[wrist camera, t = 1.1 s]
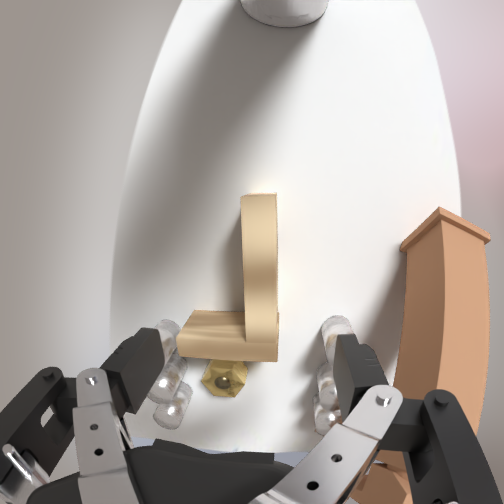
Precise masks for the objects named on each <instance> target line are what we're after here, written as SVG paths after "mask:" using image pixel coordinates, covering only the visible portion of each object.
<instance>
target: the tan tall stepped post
mask: <svg viewBox="0 0 504 504" xmlns="http://www.w3.org/2000/svg"><path fill="white" fill-rule="evenodd" d="M490 240H491V239H490V234H489V233H488V232H486V231H484V230H482V229H481V228H479V227H477V226H476V225H474V224H472V223H470V222H468V221H466V220H465V219H463V218H461V217H459V216H457V215H455V214H453V213H451V212H449V211H447V210H445V209H443V208H441V207H438V208H437V209H436V210H435V211H434V212H433V213H432V214H431V215H430V216H429V217H428V218H427V219H426V220H425V221H424V222H423V223H422V224H421V225H420V226H419V227H418V228H417V229H416V230H415V231H414V232H412V233H411V234H410V235H409V236H408V237H407V238H406V239H405V240H404V241H403V242H402V244H401V247H400V251H402V252H405V253H407V273H406V292H405V305H404V316H403V325H402V333H401V341H400V348H399V355H398V361H397V367H396V372H395V378H394V383H393V387H394V388H396V389H398V390H399V391H400V392H401V394H402V396H403V398H408V399H420V400H424V397H425V395H426V394H427V393H428V392H430V391H432V390H435V389H443V390H447V391H449V392H451V393H452V394H454V395H455V397H456V398H457V400H458V402H459V404H460V406H461V407H462V409H463V411H464V413H465V415H466V417H467V419H468V421H469V423H470V425H471V427H472V429H473V431H474V433H475V436H476V435H477V430H478V426H479V421H480V416H481V411H482V405H483V400H484V393H485V386H486V378H487V369H488V357H489V339H490V304H489V284H488V272H487V262H486V254H485V246H484V245H485V244H487V243H488V242H489V241H490ZM340 418H341V416H340ZM339 423H341V424H342V418H341V421H340V422H339ZM315 432H316V428H315ZM323 436H325V435H323ZM376 460H378V461H381V462H384V463H383V464H381V463H373V464H372V465H371V468H370V471H369V474H368V475H364V477H363V478H362V480H361V481H360V483H359V484H358V486H357V487H356V489H355V490H354V492H353V493H352V495H351V496H350V497H351V498H352V499H354V500H355V501H356V502H358V503H359V504H413V501H412V495H411V490H410V485H409V480H408V476H407V471H406V466H405V462H404V458H403V454H402V452H401V451H388V450H381V451H380V453H379V454H378V456H377V457H376Z"/></svg>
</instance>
